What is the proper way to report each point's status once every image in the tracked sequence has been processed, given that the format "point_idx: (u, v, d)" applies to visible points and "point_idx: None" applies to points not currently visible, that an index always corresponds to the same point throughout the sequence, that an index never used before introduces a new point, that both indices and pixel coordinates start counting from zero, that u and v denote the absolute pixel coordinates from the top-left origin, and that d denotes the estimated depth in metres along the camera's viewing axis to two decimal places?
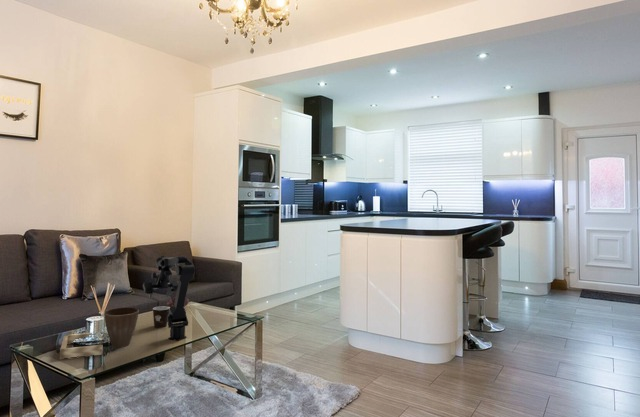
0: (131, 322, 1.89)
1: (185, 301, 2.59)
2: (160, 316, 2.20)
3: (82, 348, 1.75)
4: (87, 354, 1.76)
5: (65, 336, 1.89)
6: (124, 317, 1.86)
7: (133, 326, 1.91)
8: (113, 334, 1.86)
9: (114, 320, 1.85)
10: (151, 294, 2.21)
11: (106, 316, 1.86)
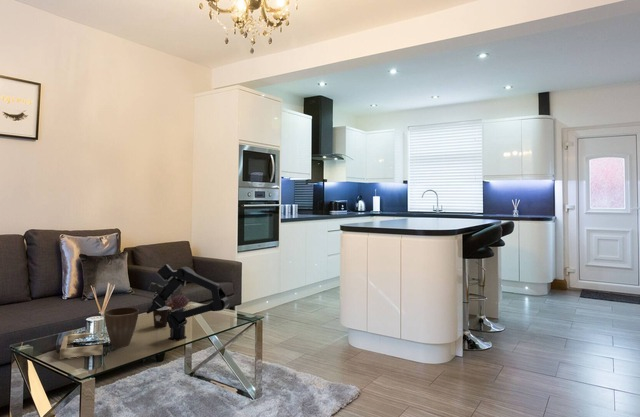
0: (131, 322, 1.89)
1: (185, 301, 2.59)
2: (160, 316, 2.20)
3: (82, 348, 1.75)
4: (87, 354, 1.76)
5: (65, 336, 1.89)
6: (124, 317, 1.86)
7: (133, 326, 1.91)
8: (113, 334, 1.86)
9: (114, 320, 1.85)
10: None
11: (106, 316, 1.86)
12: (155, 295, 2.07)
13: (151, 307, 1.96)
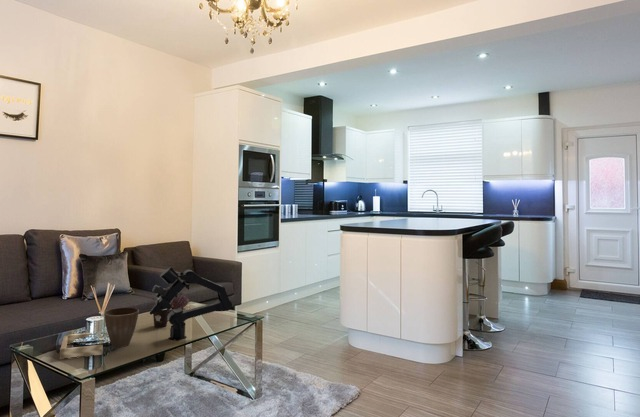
0: (131, 322, 1.89)
1: (185, 301, 2.59)
2: (160, 316, 2.20)
3: (82, 348, 1.75)
4: (87, 354, 1.76)
5: (65, 336, 1.89)
6: (124, 317, 1.86)
7: (133, 326, 1.91)
8: (113, 334, 1.86)
9: (114, 320, 1.85)
10: None
11: (106, 316, 1.86)
12: (157, 299, 2.00)
13: (155, 308, 1.98)
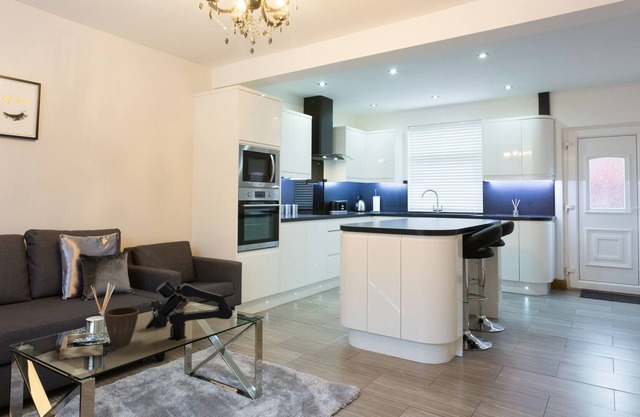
0: (131, 322, 1.89)
1: None
2: None
3: (82, 348, 1.75)
4: (87, 354, 1.76)
5: (65, 336, 1.89)
6: (124, 317, 1.86)
7: (133, 326, 1.91)
8: (113, 334, 1.86)
9: (114, 320, 1.85)
10: (158, 323, 1.99)
11: (106, 316, 1.86)
12: (153, 314, 2.00)
13: (151, 322, 1.97)
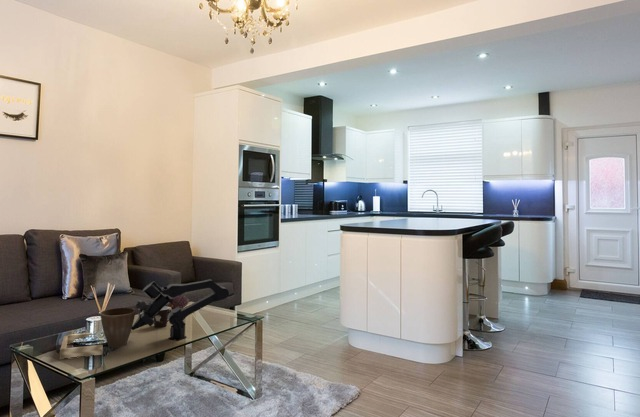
0: (128, 322, 1.89)
1: (185, 301, 2.59)
2: (160, 316, 2.20)
3: (82, 348, 1.75)
4: (87, 354, 1.76)
5: (65, 336, 1.89)
6: (121, 317, 1.86)
7: (130, 326, 1.91)
8: (110, 334, 1.86)
9: (111, 320, 1.84)
10: (144, 324, 1.96)
11: (102, 316, 1.85)
12: (140, 314, 1.97)
13: (137, 323, 1.94)
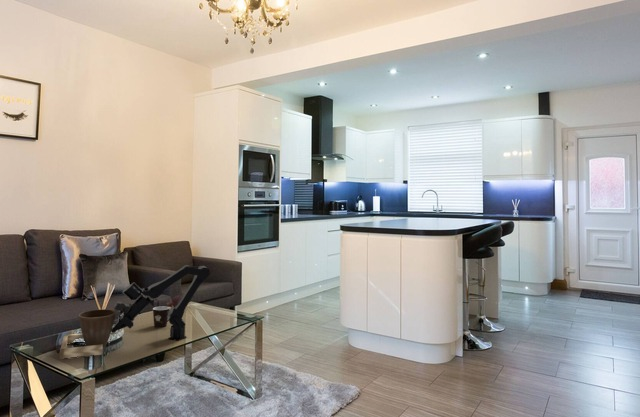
0: (108, 324, 1.85)
1: None
2: (160, 316, 2.20)
3: (82, 348, 1.75)
4: (87, 354, 1.76)
5: (65, 336, 1.89)
6: (102, 319, 1.82)
7: (110, 328, 1.87)
8: (90, 337, 1.81)
9: (91, 322, 1.80)
10: (124, 326, 1.92)
11: (81, 318, 1.80)
12: (119, 316, 1.93)
13: (117, 325, 1.90)
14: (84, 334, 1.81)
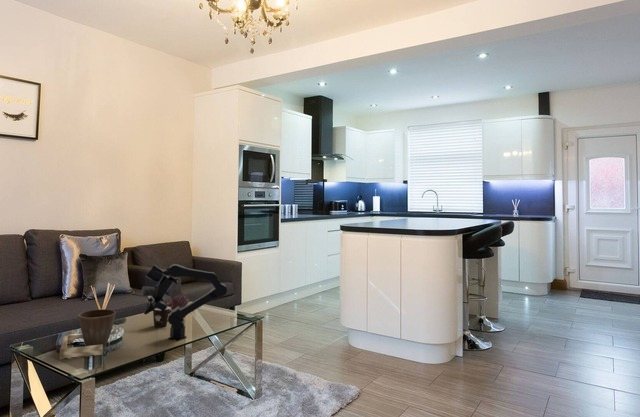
0: (108, 324, 1.85)
1: (185, 301, 2.59)
2: (160, 316, 2.20)
3: (82, 348, 1.75)
4: (87, 354, 1.76)
5: (65, 336, 1.89)
6: (102, 319, 1.82)
7: (110, 328, 1.87)
8: (89, 337, 1.81)
9: (91, 322, 1.80)
10: (155, 307, 2.01)
11: (81, 318, 1.80)
12: (148, 299, 2.00)
13: (149, 308, 1.99)
14: (84, 334, 1.81)
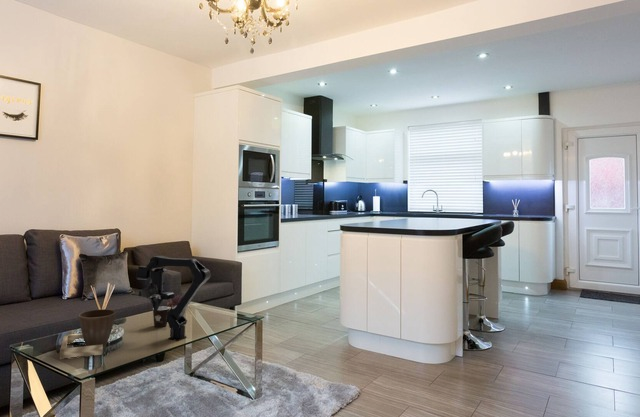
0: (108, 324, 1.85)
1: None
2: (160, 316, 2.20)
3: (82, 348, 1.75)
4: (87, 354, 1.76)
5: (65, 336, 1.89)
6: (102, 319, 1.82)
7: (110, 328, 1.87)
8: (90, 337, 1.81)
9: (91, 322, 1.80)
10: (161, 300, 2.08)
11: (81, 318, 1.80)
12: (151, 298, 2.04)
13: (157, 304, 2.05)
14: (84, 334, 1.81)
